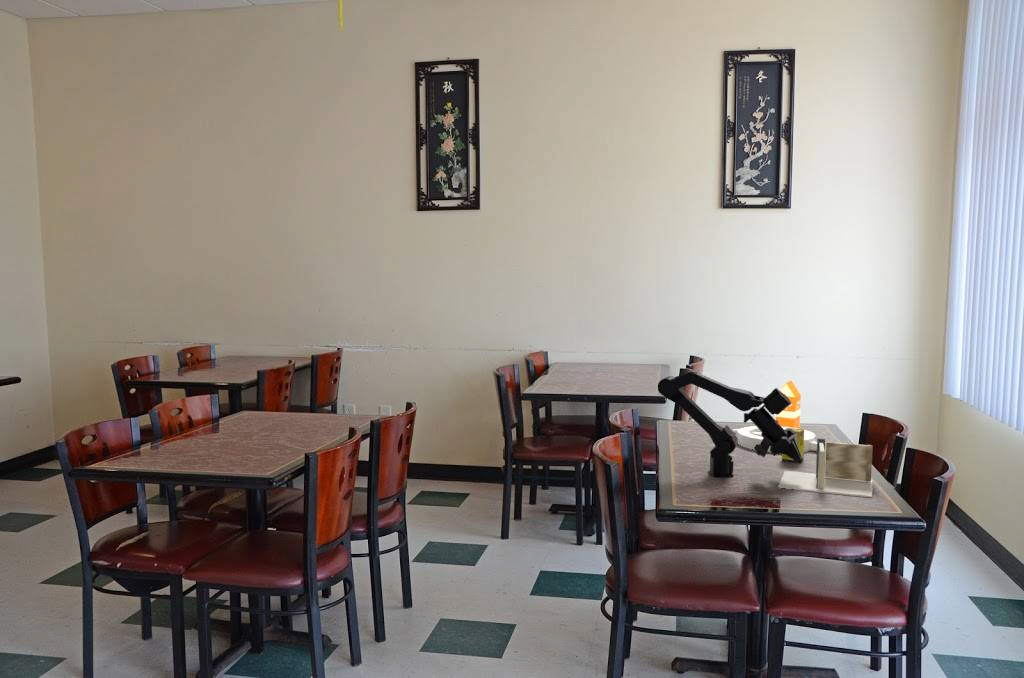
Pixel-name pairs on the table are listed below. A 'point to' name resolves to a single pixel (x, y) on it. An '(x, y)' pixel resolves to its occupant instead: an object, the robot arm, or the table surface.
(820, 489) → the board
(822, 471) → the pale green flat panel
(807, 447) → the ring with crossbar
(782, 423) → the orange juice
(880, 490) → the table surface
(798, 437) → the supplement box
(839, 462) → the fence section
